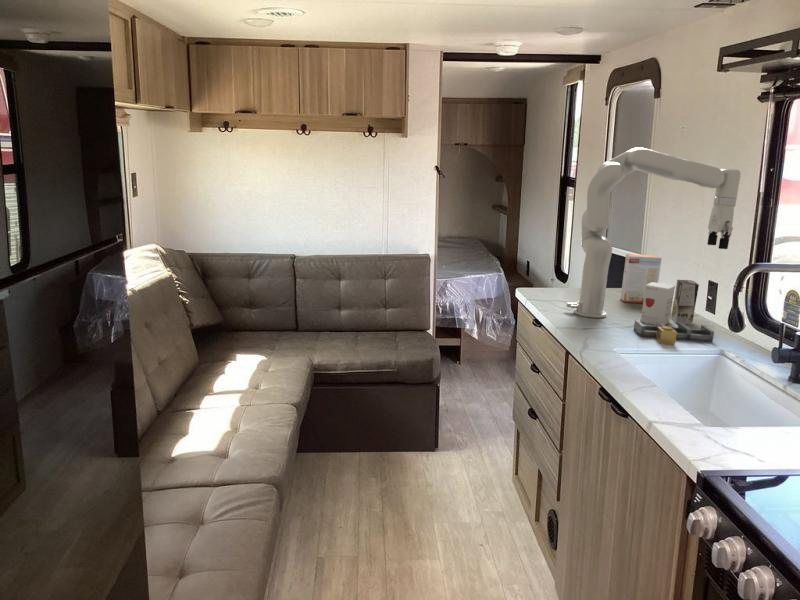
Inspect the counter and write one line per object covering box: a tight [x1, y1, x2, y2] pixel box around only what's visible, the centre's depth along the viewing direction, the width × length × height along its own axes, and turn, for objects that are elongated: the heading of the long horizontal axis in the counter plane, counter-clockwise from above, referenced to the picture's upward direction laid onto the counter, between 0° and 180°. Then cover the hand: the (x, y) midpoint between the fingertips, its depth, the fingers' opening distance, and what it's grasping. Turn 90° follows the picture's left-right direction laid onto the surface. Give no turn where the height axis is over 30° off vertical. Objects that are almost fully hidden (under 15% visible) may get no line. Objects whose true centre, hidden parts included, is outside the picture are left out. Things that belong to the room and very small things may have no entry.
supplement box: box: [639, 282, 676, 326], centre depth 251 cm, size 9×9×15 cm
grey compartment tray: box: [633, 319, 715, 343], centre depth 233 cm, size 25×9×4 cm, turn 85°
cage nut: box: [654, 325, 677, 346], centre depth 224 cm, size 5×5×6 cm
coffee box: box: [670, 279, 700, 326], centre depth 255 cm, size 9×6×16 cm
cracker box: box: [620, 254, 662, 304], centre depth 285 cm, size 14×6×21 cm, turn 88°
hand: (717, 246), depth 248 cm, fingers open, 9 cm apart
